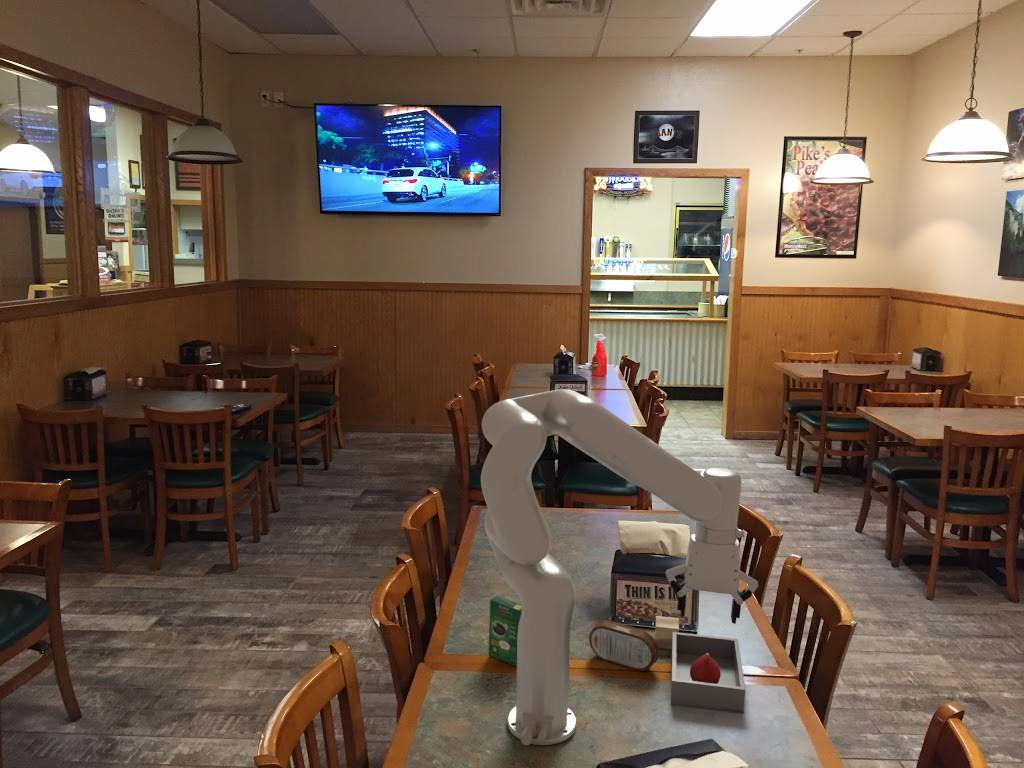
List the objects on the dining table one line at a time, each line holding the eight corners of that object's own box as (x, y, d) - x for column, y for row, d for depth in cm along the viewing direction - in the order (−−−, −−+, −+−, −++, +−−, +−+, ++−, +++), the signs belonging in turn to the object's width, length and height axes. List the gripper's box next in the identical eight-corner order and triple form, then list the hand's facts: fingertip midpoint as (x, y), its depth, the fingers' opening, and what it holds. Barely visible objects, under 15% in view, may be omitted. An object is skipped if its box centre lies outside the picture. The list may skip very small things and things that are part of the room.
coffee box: (526, 662, 168) (527, 604, 165) (518, 668, 165) (519, 610, 163) (496, 650, 172) (496, 594, 170) (487, 656, 170) (488, 599, 168)
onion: (683, 689, 157) (685, 652, 156) (699, 678, 161) (701, 642, 160) (709, 702, 153) (711, 664, 152) (724, 690, 157) (727, 653, 156)
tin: (658, 670, 166) (660, 633, 164) (653, 677, 163) (655, 639, 161) (592, 650, 173) (594, 614, 171) (586, 657, 170) (587, 620, 169)
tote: (743, 713, 151) (745, 689, 150) (670, 704, 153) (671, 680, 152) (736, 660, 170) (737, 639, 169) (671, 653, 172) (672, 631, 171)
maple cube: (677, 650, 174) (678, 628, 173) (654, 647, 175) (655, 626, 174) (677, 638, 179) (678, 618, 178) (654, 636, 180) (656, 615, 179)
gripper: (760, 531, 153) (752, 614, 156) (669, 521, 156) (662, 603, 159) (765, 545, 146) (755, 632, 149) (669, 534, 149) (662, 619, 152)
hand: (707, 617), depth 154 cm, fingers open, 9 cm apart
